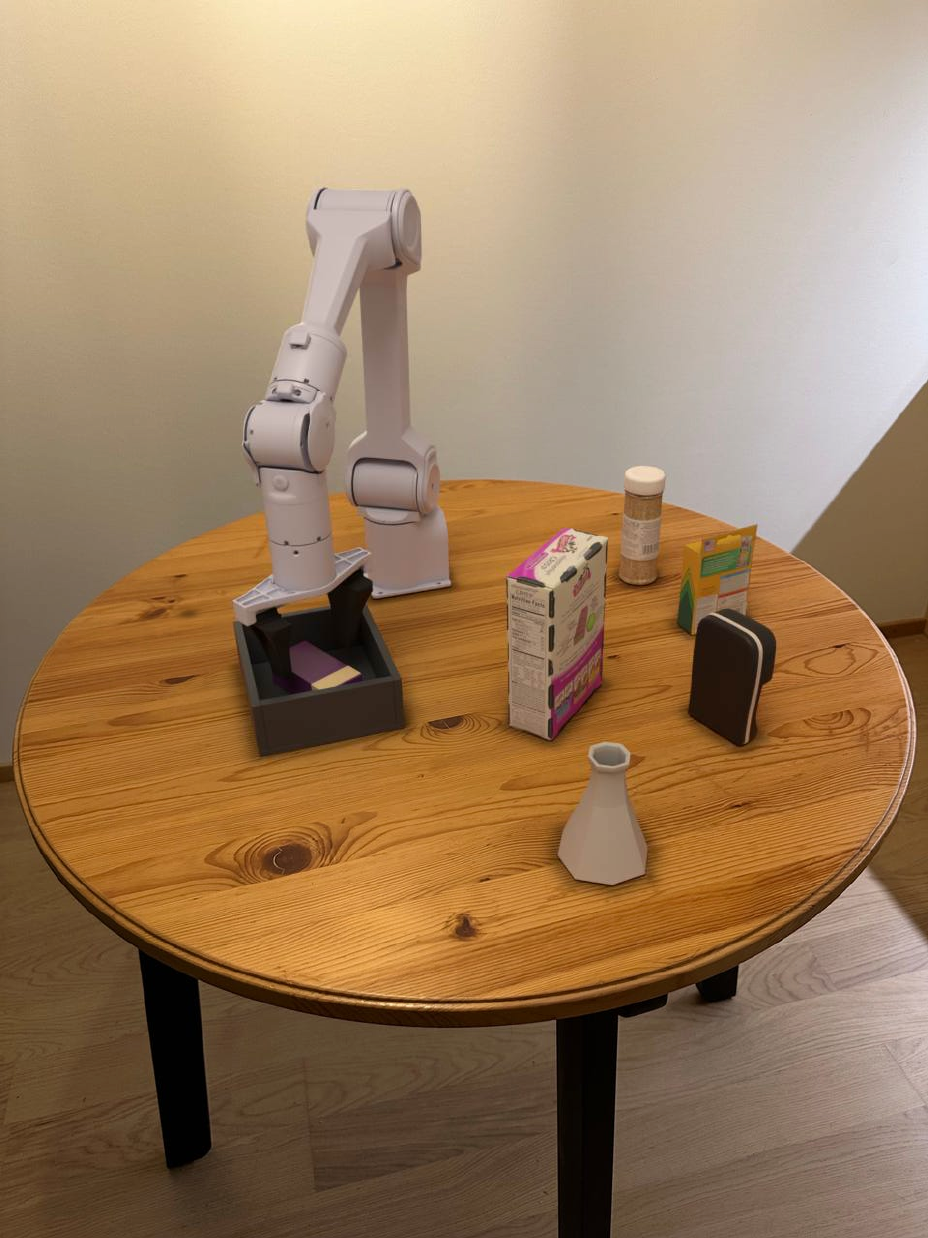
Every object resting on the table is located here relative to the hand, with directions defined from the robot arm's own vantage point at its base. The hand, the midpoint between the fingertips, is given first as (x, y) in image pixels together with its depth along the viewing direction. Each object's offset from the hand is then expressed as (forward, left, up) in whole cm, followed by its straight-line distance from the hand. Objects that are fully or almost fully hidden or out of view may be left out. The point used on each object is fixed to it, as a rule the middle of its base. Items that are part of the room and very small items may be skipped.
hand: (314, 659), depth 96 cm
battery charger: (-35, +17, -4) cm, 40 cm away
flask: (-17, +29, -4) cm, 34 cm away
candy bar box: (-21, +9, -4) cm, 24 cm away
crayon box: (-43, 0, -4) cm, 44 cm away
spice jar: (-40, -12, -4) cm, 42 cm away
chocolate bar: (0, 0, -4) cm, 4 cm away
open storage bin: (0, 0, -4) cm, 4 cm away
